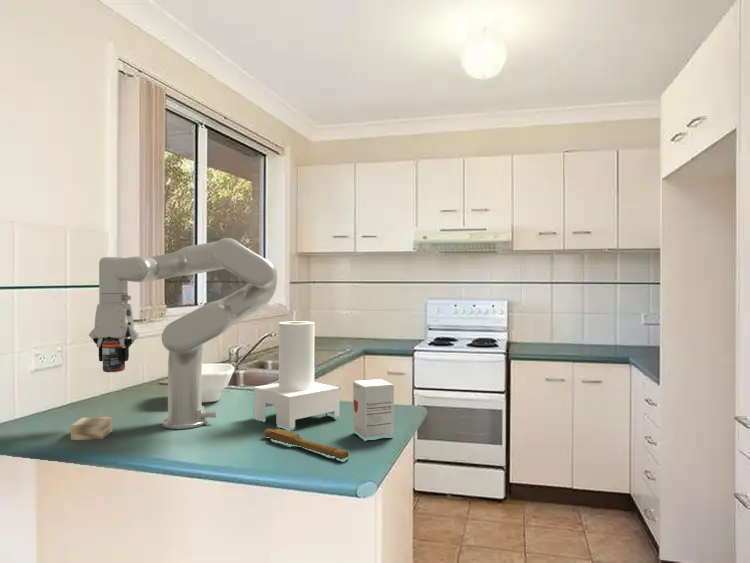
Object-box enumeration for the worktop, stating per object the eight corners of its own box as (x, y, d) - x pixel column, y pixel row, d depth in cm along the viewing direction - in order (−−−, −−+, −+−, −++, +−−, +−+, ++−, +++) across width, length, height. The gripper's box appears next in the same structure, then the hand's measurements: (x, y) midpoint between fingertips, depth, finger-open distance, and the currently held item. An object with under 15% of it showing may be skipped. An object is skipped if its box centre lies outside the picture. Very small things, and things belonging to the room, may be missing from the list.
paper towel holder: (302, 409, 184) (302, 319, 183) (339, 420, 170) (339, 322, 170) (253, 419, 170) (253, 322, 170) (289, 431, 157) (289, 326, 157)
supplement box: (351, 433, 156) (352, 380, 156) (380, 429, 160) (381, 378, 159) (363, 442, 148) (364, 386, 147) (394, 438, 151) (394, 384, 151)
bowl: (164, 410, 181) (164, 375, 181) (172, 396, 203) (172, 364, 202) (233, 407, 186) (233, 372, 186) (234, 393, 208) (234, 362, 208)
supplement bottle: (119, 368, 166) (119, 330, 165) (128, 370, 162) (128, 332, 162) (98, 371, 161) (98, 332, 161) (108, 373, 157) (108, 333, 157)
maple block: (112, 430, 157) (112, 416, 157) (102, 439, 149) (102, 424, 149) (82, 431, 156) (82, 417, 156) (70, 440, 148) (70, 425, 148)
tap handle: (340, 452, 131) (261, 428, 150) (340, 465, 131) (261, 439, 150) (349, 449, 133) (270, 426, 153) (349, 461, 133) (270, 437, 153)
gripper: (147, 299, 163) (148, 359, 163) (95, 298, 166) (96, 358, 167) (132, 300, 156) (132, 363, 156) (78, 299, 159) (78, 362, 159)
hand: (113, 360), depth 161 cm, fingers closed on supplement bottle, 5 cm apart
